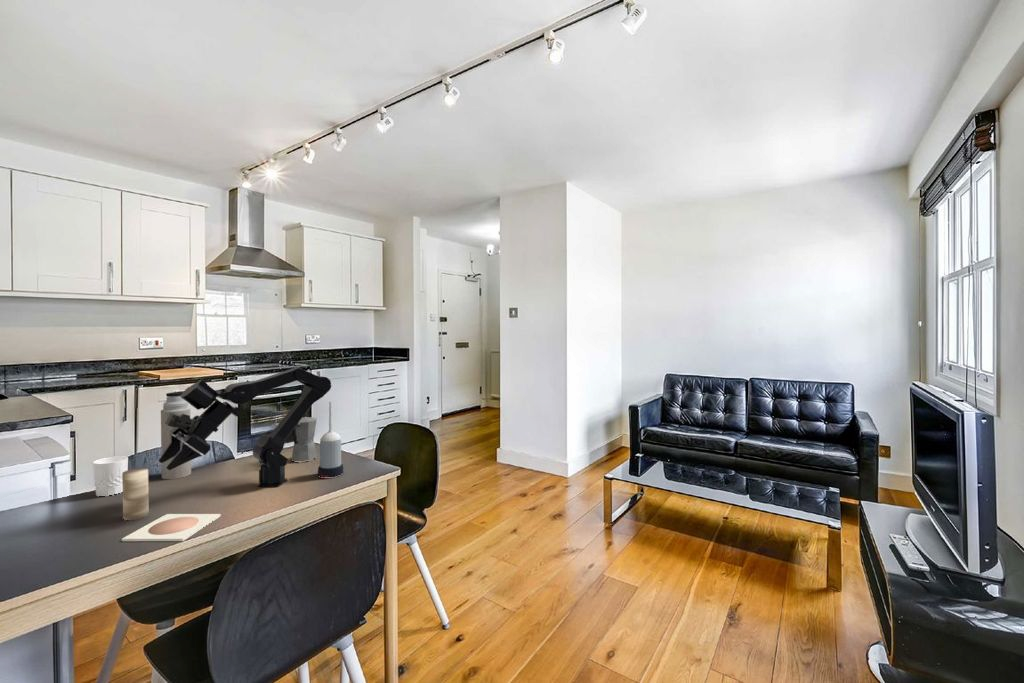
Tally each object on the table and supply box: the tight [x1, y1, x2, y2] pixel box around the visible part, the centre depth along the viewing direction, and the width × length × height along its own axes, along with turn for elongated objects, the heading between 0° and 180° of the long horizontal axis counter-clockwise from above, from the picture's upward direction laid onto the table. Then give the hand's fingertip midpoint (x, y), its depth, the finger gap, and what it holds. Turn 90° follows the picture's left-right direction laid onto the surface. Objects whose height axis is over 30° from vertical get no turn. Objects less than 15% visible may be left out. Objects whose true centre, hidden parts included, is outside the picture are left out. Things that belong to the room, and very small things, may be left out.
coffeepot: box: [291, 412, 317, 461], centre depth 170 cm, size 15×9×18 cm, turn 0°
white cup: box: [92, 455, 129, 497], centre depth 135 cm, size 8×8×10 cm
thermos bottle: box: [160, 391, 192, 480], centre depth 151 cm, size 8×8×28 cm
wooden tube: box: [122, 467, 150, 521], centre depth 118 cm, size 5×5×12 cm
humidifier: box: [317, 401, 344, 477], centre depth 153 cm, size 8×8×25 cm
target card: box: [121, 513, 221, 542], centre depth 112 cm, size 14×14×1 cm
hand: (163, 465), depth 123 cm, fingers open, 9 cm apart
